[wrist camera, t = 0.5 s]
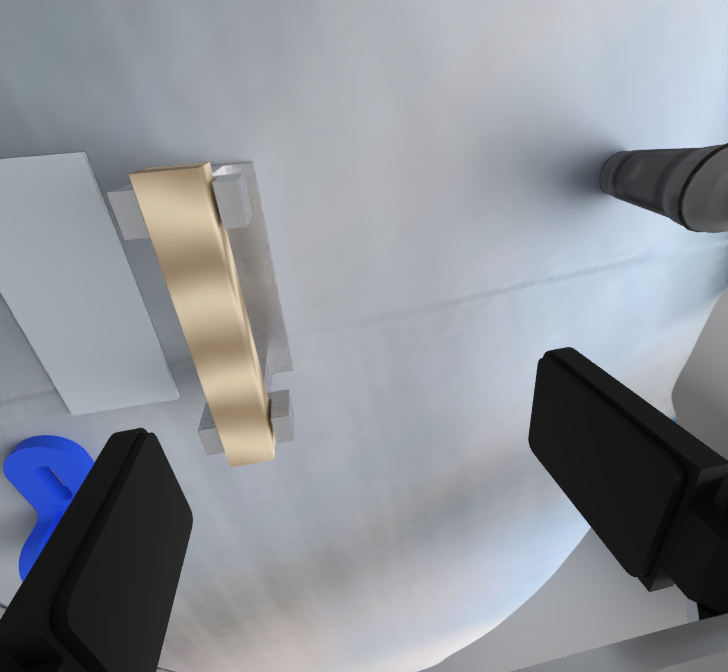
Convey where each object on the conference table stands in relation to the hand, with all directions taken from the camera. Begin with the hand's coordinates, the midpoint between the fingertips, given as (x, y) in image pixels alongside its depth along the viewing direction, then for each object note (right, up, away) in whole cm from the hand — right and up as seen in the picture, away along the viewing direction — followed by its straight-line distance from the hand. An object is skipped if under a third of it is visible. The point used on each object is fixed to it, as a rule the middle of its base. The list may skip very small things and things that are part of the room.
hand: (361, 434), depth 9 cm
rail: (-12, +3, +23) cm, 26 cm away
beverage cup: (+28, +21, +33) cm, 48 cm away
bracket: (-38, -17, +42) cm, 59 cm away
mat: (-29, +6, +30) cm, 42 cm away
